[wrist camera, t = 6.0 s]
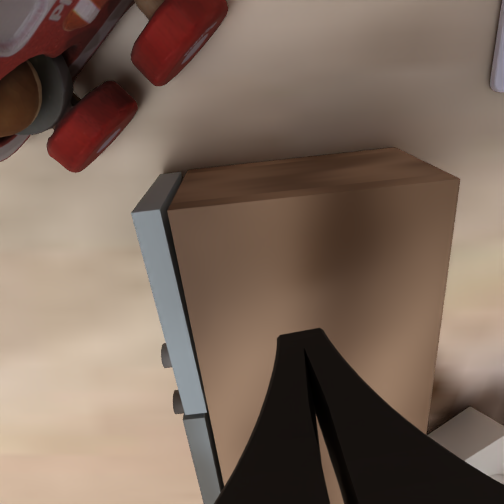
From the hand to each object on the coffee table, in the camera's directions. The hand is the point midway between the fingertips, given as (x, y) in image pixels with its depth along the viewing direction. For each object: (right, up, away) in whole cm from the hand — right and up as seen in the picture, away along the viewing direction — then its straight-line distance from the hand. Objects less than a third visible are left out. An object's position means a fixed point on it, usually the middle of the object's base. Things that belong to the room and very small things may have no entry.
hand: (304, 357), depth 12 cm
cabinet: (0, -1, +11) cm, 11 cm away
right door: (-5, +3, +9) cm, 11 cm away
